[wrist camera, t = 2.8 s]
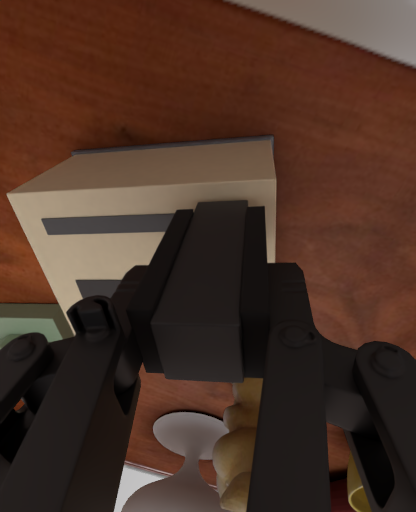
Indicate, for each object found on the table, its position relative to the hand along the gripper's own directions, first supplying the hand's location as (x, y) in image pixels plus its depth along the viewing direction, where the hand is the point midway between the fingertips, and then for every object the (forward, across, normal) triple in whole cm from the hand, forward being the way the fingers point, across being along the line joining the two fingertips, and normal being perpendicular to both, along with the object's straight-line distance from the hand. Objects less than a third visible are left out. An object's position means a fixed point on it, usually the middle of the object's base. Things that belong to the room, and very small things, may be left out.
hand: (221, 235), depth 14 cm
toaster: (+10, -4, -4) cm, 11 cm away
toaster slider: (+1, 0, 0) cm, 1 cm away
